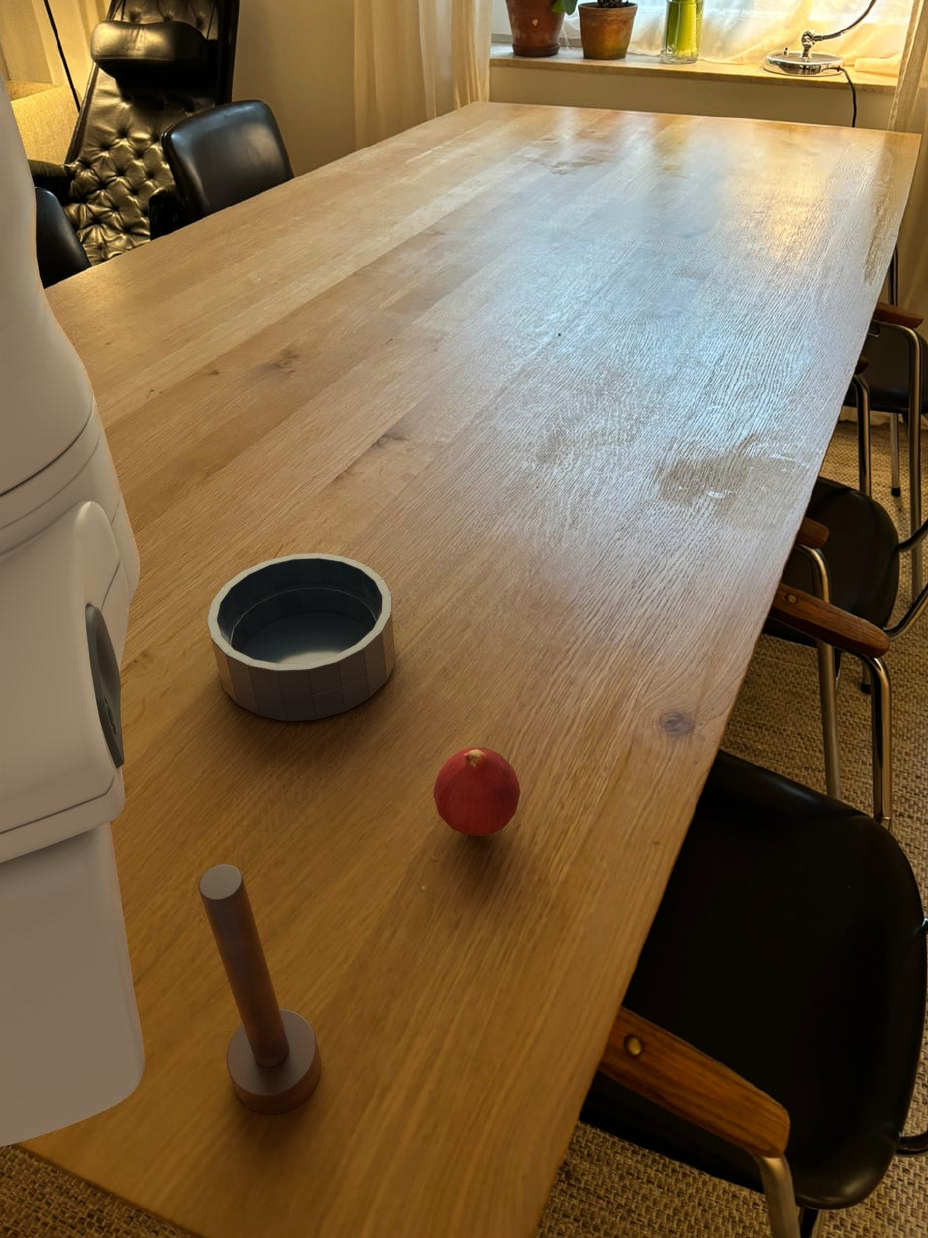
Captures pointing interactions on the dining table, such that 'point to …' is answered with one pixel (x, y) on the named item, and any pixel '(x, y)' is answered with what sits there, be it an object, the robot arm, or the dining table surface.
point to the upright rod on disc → (257, 1006)
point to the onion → (476, 792)
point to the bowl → (303, 636)
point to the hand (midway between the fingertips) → (86, 898)
